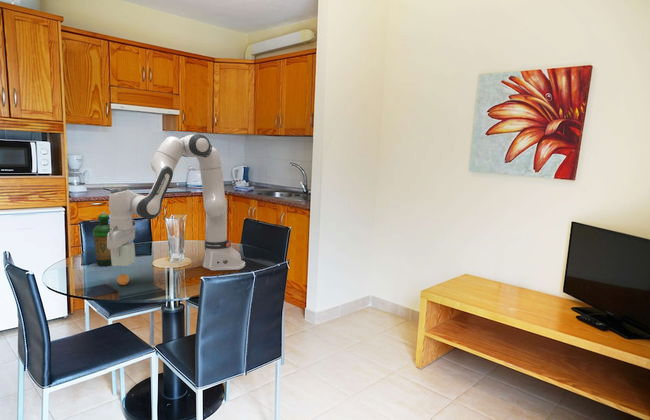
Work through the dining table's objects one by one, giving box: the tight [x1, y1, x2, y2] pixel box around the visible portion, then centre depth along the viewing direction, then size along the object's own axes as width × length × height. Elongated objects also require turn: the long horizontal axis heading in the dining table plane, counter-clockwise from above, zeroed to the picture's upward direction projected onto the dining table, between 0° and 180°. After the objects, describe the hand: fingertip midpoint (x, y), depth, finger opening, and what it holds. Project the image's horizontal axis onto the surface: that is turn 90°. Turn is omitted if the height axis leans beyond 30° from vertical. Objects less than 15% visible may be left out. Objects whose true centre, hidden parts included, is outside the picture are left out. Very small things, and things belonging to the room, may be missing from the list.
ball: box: [116, 273, 130, 286], centre depth 189 cm, size 5×5×5 cm
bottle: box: [92, 211, 112, 267], centre depth 217 cm, size 11×11×28 cm
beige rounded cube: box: [110, 242, 137, 267], centre depth 188 cm, size 7×7×9 cm
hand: (121, 254), depth 188 cm, fingers closed on beige rounded cube, 7 cm apart
